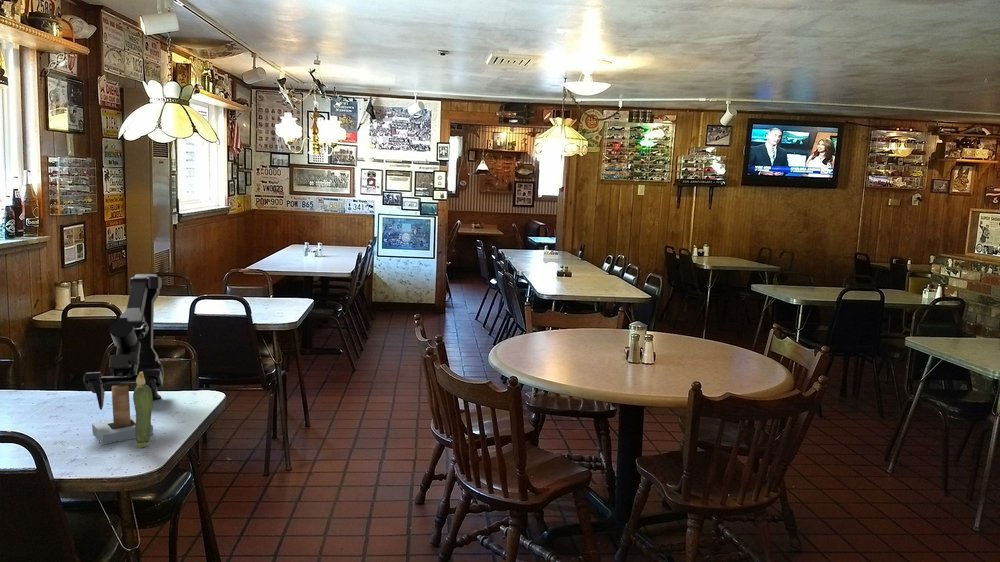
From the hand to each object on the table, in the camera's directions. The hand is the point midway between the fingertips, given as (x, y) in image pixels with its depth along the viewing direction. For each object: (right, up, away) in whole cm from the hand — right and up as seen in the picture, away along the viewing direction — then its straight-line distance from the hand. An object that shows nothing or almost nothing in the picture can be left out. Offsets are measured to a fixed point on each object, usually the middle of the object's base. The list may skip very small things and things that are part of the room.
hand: (119, 407), depth 188 cm
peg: (-1, -7, +2) cm, 8 cm away
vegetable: (+10, -9, -7) cm, 15 cm away
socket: (0, -7, +2) cm, 8 cm away
